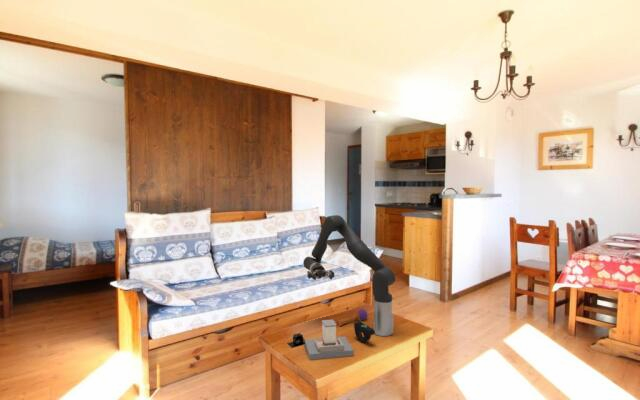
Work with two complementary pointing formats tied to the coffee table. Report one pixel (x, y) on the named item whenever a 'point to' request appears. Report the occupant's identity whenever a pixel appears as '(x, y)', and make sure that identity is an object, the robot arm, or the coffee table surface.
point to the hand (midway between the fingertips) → (323, 277)
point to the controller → (363, 331)
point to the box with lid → (329, 332)
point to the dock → (328, 349)
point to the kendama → (354, 317)
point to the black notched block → (297, 340)
